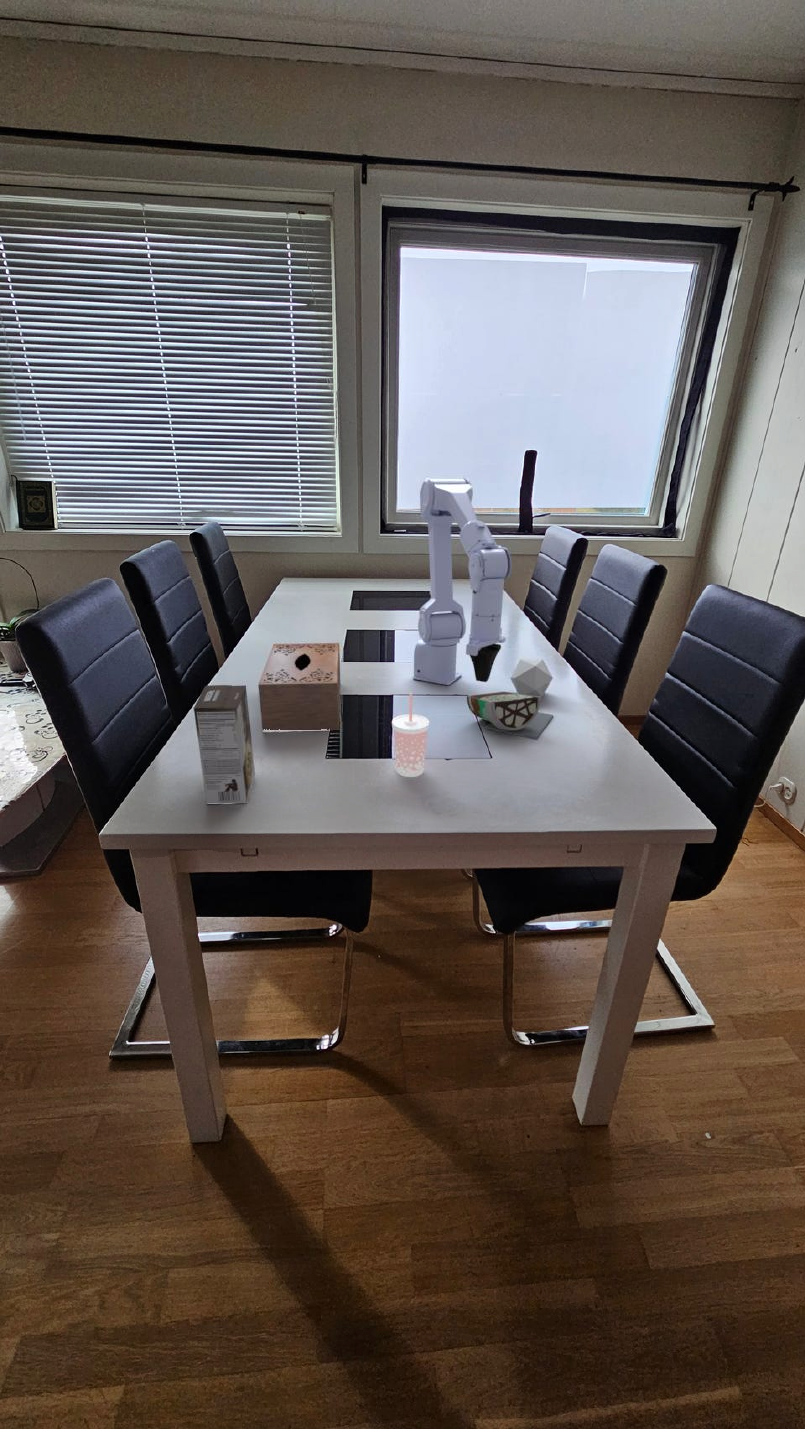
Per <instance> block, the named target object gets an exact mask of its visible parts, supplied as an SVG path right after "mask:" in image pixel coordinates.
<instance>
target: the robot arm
mask: <svg viewBox="0 0 805 1429" xmlns="http://www.w3.org/2000/svg"><path fill="white" fill-rule="evenodd" d="M473 492H474V491H473V486H472V483H471V481H470V480H469V478H466V477H463V478H430V477H428V478H425V479H424V481H423V482H422V484H421V488H420V490H419V502H420V504H419V505H420V514H421V515H420V516H421V520H422V521H424V522H426V523H427V529H428V550H429V551H428V553H429V554H428V555H429V578H430V598H429V600H428V601H426V602H425V603H424V604H423V605H422V606H421V607H420V608H419V618H418V621H417V622H418V623H417V624H418V625H417V628H418V634H419V637H420V638H419V640H417V642H416V644H415V648H414V652H413V654H414V655H413V676H412V679H414V680H419V681H422V682H429V683H434V684H438V685H439V684H440V685H445V686H450V685H452V684H453V683H454V682H456V680H458V679H459V678H460V677H462V675H463V674H462V673H461V672H457V656H458V655H457V651H458V644H459V643H460V641H461V639H463V638H464V636H465V634H466V630H467V621H466V617H465V614H464V613H465V612H464V607H463V606H462V605H461V604H460V603H459V602H458V601H457V600H455V599H454V597H453V596H454V595H453V592H454V591H453V590H454V589H453V568H452V567H453V564H452V562H453V561H452V557H453V556H452V525H453V523H454V522H455V523H456V524H457V526H458V528H460V532H459V538H458V539H459V541H460V543H461V546H462V547H463V550H464V552H465V554H466V555H467V557H468V559H469V561H468V564H467V565H468V566H467V567H468V568H467V569H468V574H469V585H470V590H471V589H472V598H471V599H472V600H471V612H470V613H471V614H470V615H471V616H470V633H469V635H468V643H467V644H466V645H465V655H467V656H469V657H470V660H471V662H472V665H473V671H474V676H475V681H477V682H482V683H487V682H488V681H489V679H490V676H491V672H492V669H493V666H494V663H495V660H496V658H497V656H498V654H499V652H500V651H501V649H502V645H501V644H503V643H505V642H506V641H507V640H506V639H507V638H506V637H505V636H502V635H503V634H502V631H503V629H502V627H501V626H502V614H503V602H504V600H503V599H504V598H503V597H504V585H505V584H504V583H505V580H507V579H508V578H509V576H510V574H511V572H512V558H511V554H510V552H509V549H508V548H506V547H504V546H503V547H502V545H501V544H500V545H499V544H497V543H496V541H495V539H494V536H493V535H492V533H491V531H490V529H489V527H488V526H487V524H486V523H485V522H484V521H481V520H478V517H477V514H476V512H475V509H474V507H473V504H472V501H473ZM441 612H442V613H441Z"/></svg>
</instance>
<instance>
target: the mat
mask: <svg viewBox="0 0 805 1429" xmlns="http://www.w3.org/2000/svg"><path fill="white" fill-rule="evenodd" d="M553 718H554V715H553V714H550V713H545V712H540V711H538V713H537V715H536V717H535V718H534V719H533V721H532V722H531V723H530V724H529V725H527V726H526V727H524V728H521V729H519V730H512V731H505V730H501V729H499V728H497V727H496V726H495V725H493V724H492V722H489V723H488V724H487V725H486V726H485V729H486V730H491V731H493V732H494V731H495V732H500V733H504V734H508V735H509V734H510V735H515V736H519V737H523V738H524V737H525V738H527V739H534V740H537V739H538V738H539V737H540V735H541V734H542V733H543V731H544V730H545V729H546V727H547V726H548V724H549V723H550V722H551V721H552V719H553Z"/></svg>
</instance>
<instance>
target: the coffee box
mask: <svg viewBox="0 0 805 1429" xmlns="http://www.w3.org/2000/svg"><path fill="white" fill-rule="evenodd" d="M247 693H248V692H247V685H245V684H244V685H231V684H219V685H218V684H215V685H214V684H213V685H205V686H204V688H203V689H202V691H201V694H200V695H199V697H198V700H197V701H196V703H195V705H194V706H193V713H194V720H195V727H196V728H195V729H196V735H197V736H196V737H197V742H198V743H197V744H198V750H199V757H200V764H201V772H202V773H201V774H202V780H203V788H204V793H205V801H206V804H207V803H246V804H248V803H249V800H248V799H250V796H251V792H252V788H251V787H253V785H252V784H254V781H255V776H256V771H255V769H256V768H255V761H254V760H255V759H254V752H253V751H254V750H253V742H252V733H251V721H250V712H249V705H248V704H249V701H248V694H247ZM253 780H254V781H253ZM249 795H250V796H249ZM247 802H248V803H247Z"/></svg>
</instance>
